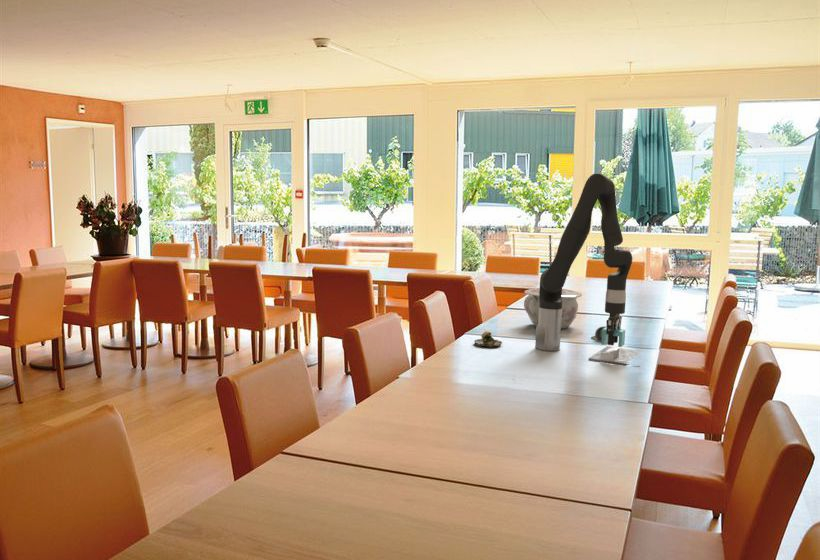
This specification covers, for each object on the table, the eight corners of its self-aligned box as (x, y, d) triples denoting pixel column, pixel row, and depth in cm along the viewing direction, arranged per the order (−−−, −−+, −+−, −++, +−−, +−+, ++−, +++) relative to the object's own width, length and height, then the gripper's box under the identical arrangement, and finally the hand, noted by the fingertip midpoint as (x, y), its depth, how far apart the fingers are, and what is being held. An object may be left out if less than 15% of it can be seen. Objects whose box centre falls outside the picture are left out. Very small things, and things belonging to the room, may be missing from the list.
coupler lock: (621, 347, 268) (622, 331, 267) (599, 344, 272) (600, 329, 271) (624, 344, 272) (625, 329, 272) (603, 342, 276) (604, 327, 276)
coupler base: (624, 366, 264) (625, 355, 263) (588, 360, 271) (589, 350, 270) (641, 353, 286) (641, 343, 285) (607, 348, 293) (607, 339, 292)
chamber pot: (575, 322, 351) (578, 282, 348) (583, 333, 324) (586, 289, 321) (519, 320, 353) (521, 279, 351) (523, 330, 326) (525, 287, 324)
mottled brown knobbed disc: (479, 349, 286) (480, 331, 285) (469, 343, 297) (470, 326, 296) (506, 348, 289) (507, 330, 288) (495, 342, 300) (496, 325, 299)
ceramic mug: (617, 341, 307) (617, 325, 306) (610, 344, 301) (611, 327, 300) (594, 338, 313) (595, 322, 312) (588, 341, 307) (588, 325, 306)
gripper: (620, 304, 262) (617, 348, 264) (629, 299, 274) (627, 341, 276) (600, 302, 266) (598, 345, 268) (610, 297, 278) (608, 339, 280)
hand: (612, 343), depth 272 cm, fingers closed on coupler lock, 5 cm apart
